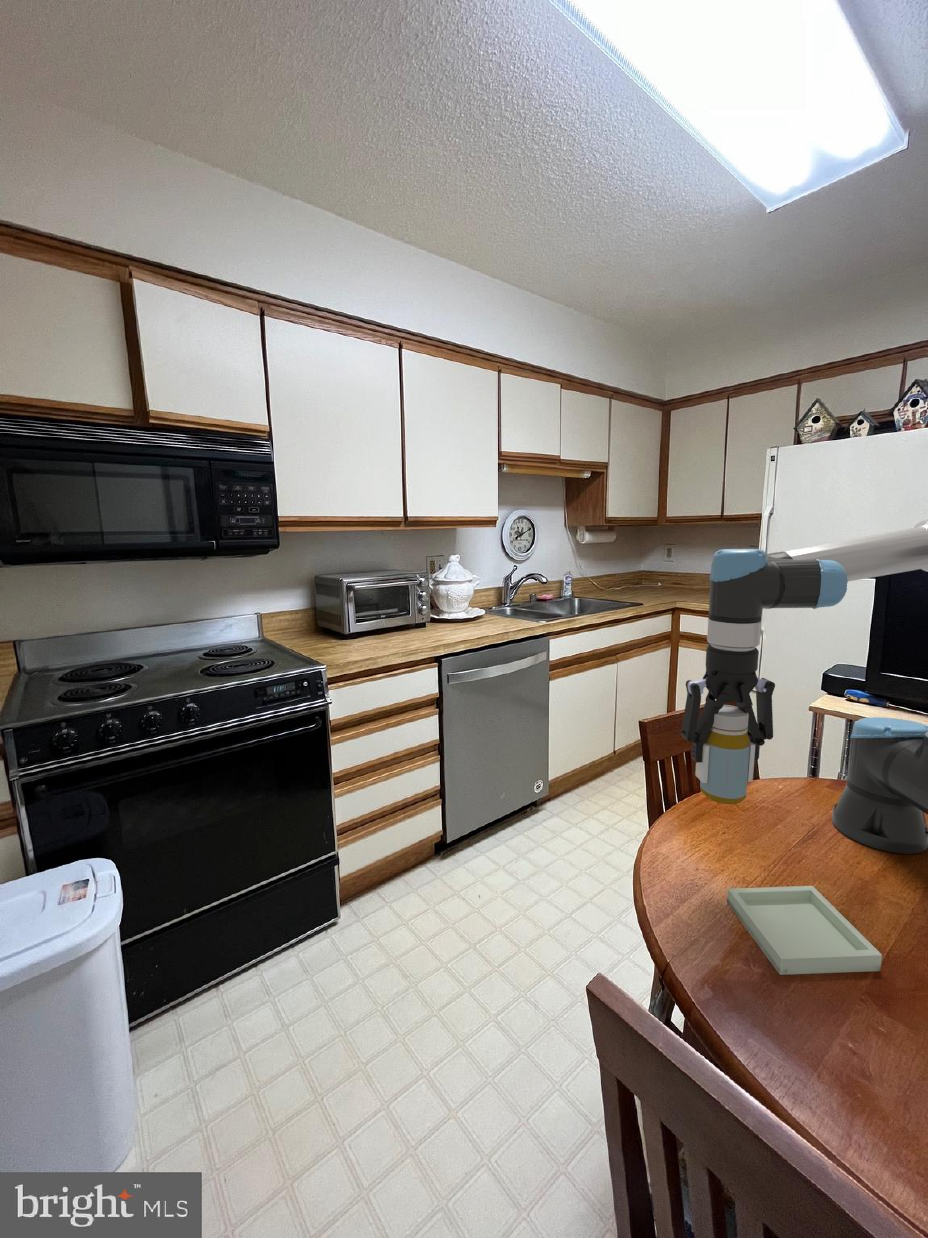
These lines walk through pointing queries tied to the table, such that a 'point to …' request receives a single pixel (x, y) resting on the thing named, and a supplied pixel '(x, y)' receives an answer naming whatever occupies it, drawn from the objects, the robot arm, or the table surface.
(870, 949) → the pale green square tray
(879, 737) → the robot arm
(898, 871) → the table surface
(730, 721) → the bottle
